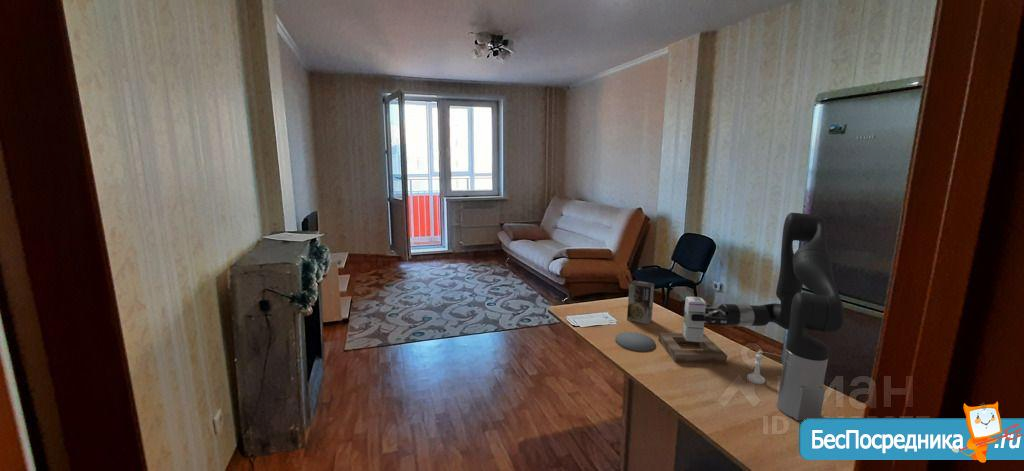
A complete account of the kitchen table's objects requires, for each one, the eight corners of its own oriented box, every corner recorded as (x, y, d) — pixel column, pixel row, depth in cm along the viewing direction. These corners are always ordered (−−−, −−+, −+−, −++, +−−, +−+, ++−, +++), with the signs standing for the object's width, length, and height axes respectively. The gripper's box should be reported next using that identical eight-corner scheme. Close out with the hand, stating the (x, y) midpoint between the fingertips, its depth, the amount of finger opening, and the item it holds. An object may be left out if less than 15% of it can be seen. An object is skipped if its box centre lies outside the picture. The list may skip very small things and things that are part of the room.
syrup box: (703, 342, 141) (707, 302, 139) (684, 341, 142) (688, 301, 140) (699, 336, 147) (703, 297, 144) (681, 334, 148) (685, 295, 145)
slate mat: (660, 351, 145) (660, 349, 145) (620, 350, 145) (620, 348, 145) (647, 334, 159) (648, 332, 158) (611, 333, 159) (611, 331, 159)
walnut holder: (726, 363, 137) (727, 355, 137) (675, 362, 137) (676, 354, 137) (703, 341, 154) (704, 334, 153) (658, 340, 154) (658, 332, 154)
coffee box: (652, 319, 174) (655, 283, 171) (648, 324, 168) (651, 287, 165) (630, 315, 178) (633, 279, 175) (626, 319, 173) (629, 283, 170)
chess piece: (743, 377, 129) (747, 347, 127) (753, 374, 131) (758, 345, 129) (757, 385, 125) (762, 354, 123) (768, 382, 127) (773, 352, 125)
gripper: (726, 298, 149) (680, 296, 149) (748, 312, 135) (697, 310, 135) (724, 317, 150) (678, 316, 151) (745, 333, 136) (695, 332, 136)
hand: (687, 313), depth 143 cm, fingers closed on syrup box, 6 cm apart
